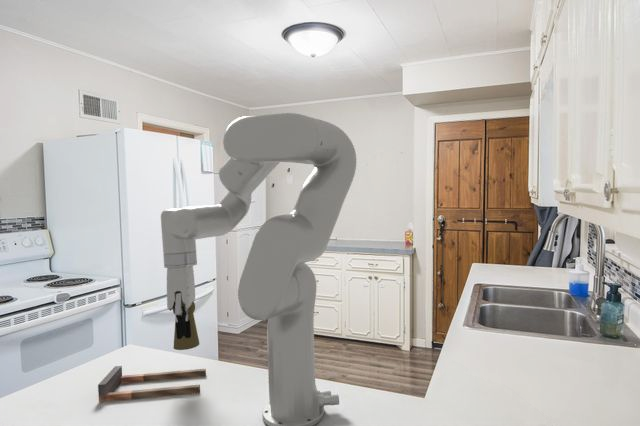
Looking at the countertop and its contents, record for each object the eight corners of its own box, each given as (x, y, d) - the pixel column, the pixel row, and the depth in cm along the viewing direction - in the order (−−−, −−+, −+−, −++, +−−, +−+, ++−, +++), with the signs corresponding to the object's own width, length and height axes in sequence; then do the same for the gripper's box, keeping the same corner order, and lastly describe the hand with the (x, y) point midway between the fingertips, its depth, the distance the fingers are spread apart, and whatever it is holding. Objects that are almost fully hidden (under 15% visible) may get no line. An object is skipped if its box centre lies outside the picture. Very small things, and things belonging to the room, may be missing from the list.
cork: (191, 350, 96) (188, 303, 96) (168, 349, 97) (165, 303, 97) (204, 341, 102) (201, 297, 102) (181, 341, 103) (178, 297, 103)
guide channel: (205, 374, 106) (205, 359, 106) (199, 393, 96) (198, 376, 95) (115, 382, 103) (114, 366, 103) (98, 402, 93) (97, 384, 93)
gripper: (172, 257, 107) (177, 327, 107) (154, 265, 90) (160, 348, 91) (201, 254, 108) (206, 324, 108) (190, 263, 91) (195, 345, 92)
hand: (185, 334), depth 99 cm, fingers closed on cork, 3 cm apart
